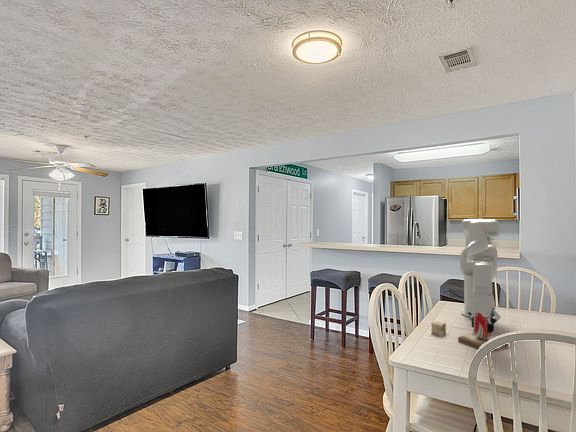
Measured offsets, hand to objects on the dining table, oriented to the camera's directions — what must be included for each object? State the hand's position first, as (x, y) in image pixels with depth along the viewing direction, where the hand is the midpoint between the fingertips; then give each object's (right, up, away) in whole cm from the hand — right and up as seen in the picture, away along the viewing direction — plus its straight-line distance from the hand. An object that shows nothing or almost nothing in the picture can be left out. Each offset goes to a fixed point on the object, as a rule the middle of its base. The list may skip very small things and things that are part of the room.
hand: (482, 329), depth 153 cm
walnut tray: (0, -7, 0) cm, 7 cm away
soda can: (0, -3, 0) cm, 3 cm away
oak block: (-13, -7, +15) cm, 21 cm away
